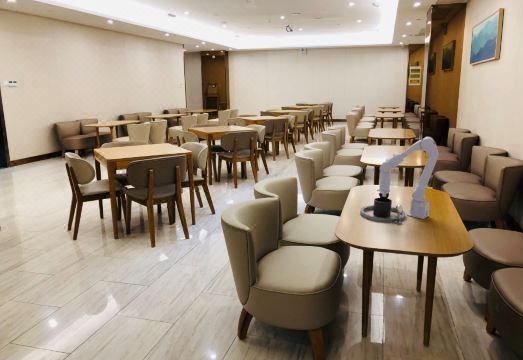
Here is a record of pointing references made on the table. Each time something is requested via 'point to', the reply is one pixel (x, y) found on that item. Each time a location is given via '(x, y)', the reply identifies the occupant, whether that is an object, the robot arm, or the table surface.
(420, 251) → the table surface
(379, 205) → the mug
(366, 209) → the ring
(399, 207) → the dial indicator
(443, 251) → the table surface
